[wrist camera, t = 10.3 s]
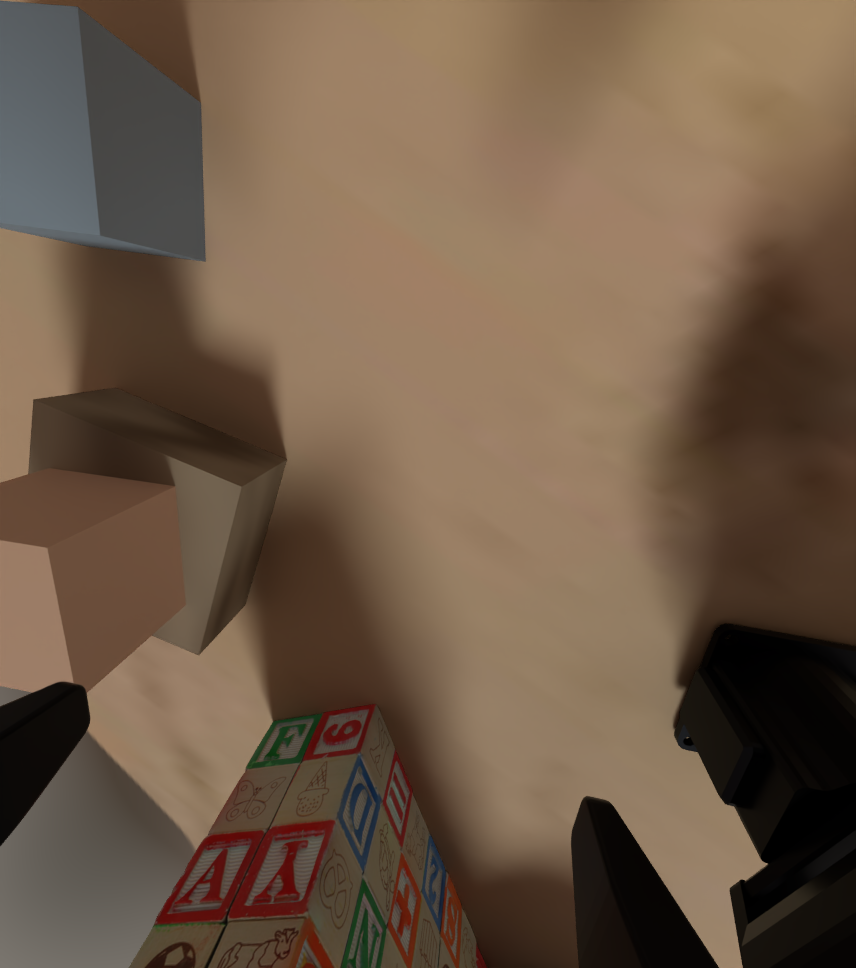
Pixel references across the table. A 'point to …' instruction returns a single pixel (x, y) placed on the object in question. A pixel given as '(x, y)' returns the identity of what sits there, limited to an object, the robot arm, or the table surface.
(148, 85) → the slate cube
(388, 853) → the stack of blocks
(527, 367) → the table surface
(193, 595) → the taupe faceted block
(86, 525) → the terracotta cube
